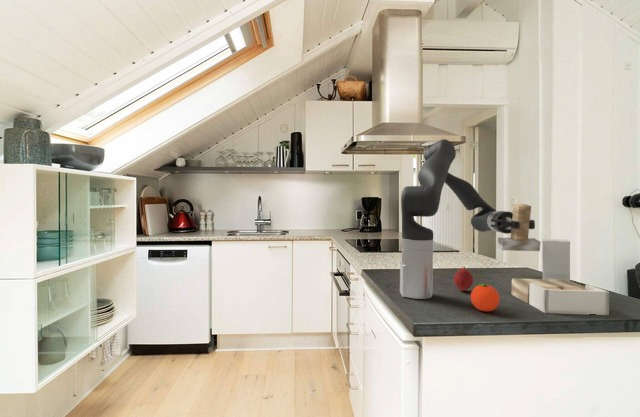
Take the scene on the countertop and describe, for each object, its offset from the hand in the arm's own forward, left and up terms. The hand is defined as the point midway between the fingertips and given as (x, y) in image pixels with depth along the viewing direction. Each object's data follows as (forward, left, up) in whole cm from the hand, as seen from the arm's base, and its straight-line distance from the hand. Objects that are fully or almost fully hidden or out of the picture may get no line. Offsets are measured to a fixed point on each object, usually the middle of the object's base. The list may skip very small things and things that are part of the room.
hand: (525, 225), depth 107 cm
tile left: (+2, -8, -19) cm, 21 cm away
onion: (-17, +5, -22) cm, 28 cm away
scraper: (0, +5, -8) cm, 9 cm away
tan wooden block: (+5, -2, -22) cm, 22 cm away
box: (+5, -12, -22) cm, 25 cm away
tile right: (+9, -8, -19) cm, 22 cm away
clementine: (-18, -15, -22) cm, 32 cm away
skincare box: (+20, +21, -22) cm, 36 cm away
